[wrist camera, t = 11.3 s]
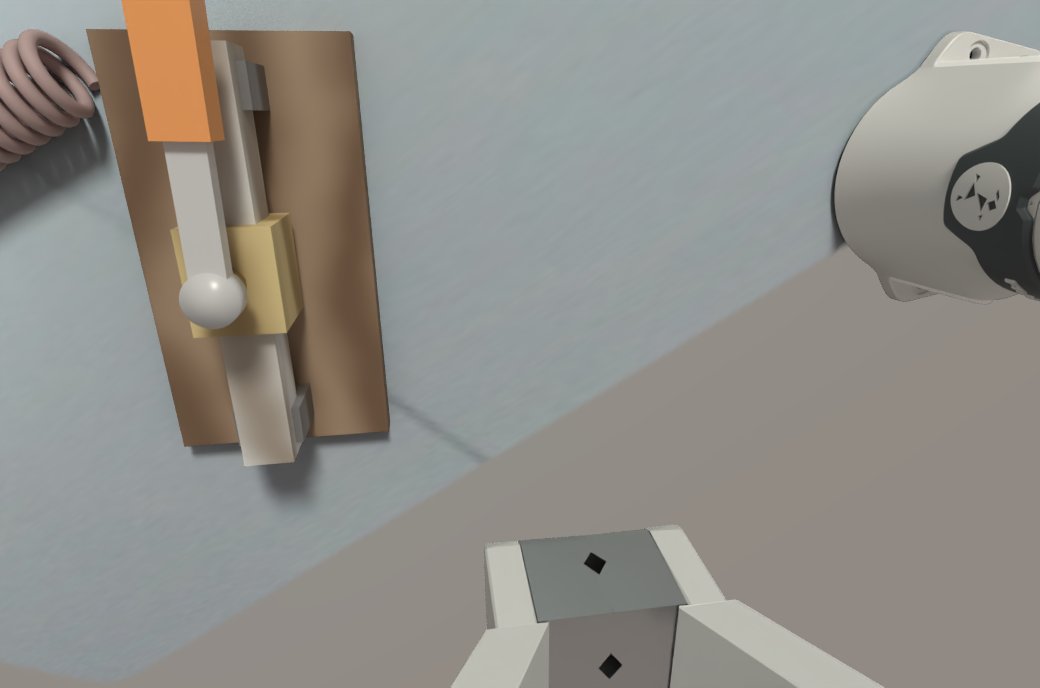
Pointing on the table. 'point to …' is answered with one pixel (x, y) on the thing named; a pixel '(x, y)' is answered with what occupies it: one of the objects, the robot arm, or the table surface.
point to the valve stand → (265, 244)
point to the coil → (39, 93)
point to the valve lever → (187, 146)
